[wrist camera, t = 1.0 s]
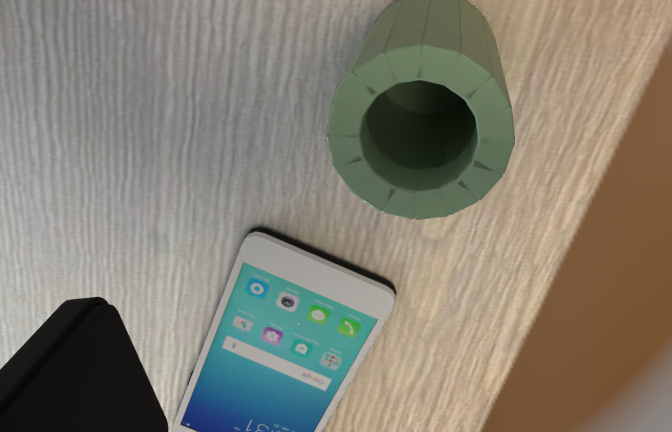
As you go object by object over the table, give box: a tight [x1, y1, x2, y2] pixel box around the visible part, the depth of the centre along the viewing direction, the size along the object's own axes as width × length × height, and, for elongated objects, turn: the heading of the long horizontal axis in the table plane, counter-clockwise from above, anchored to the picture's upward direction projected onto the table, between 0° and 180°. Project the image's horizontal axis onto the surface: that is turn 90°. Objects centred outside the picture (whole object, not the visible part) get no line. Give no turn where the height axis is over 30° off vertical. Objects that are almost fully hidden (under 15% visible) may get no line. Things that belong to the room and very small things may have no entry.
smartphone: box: [171, 227, 396, 432], centre depth 31 cm, size 8×1×15 cm
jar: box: [326, 0, 515, 220], centre depth 20 cm, size 5×5×8 cm
